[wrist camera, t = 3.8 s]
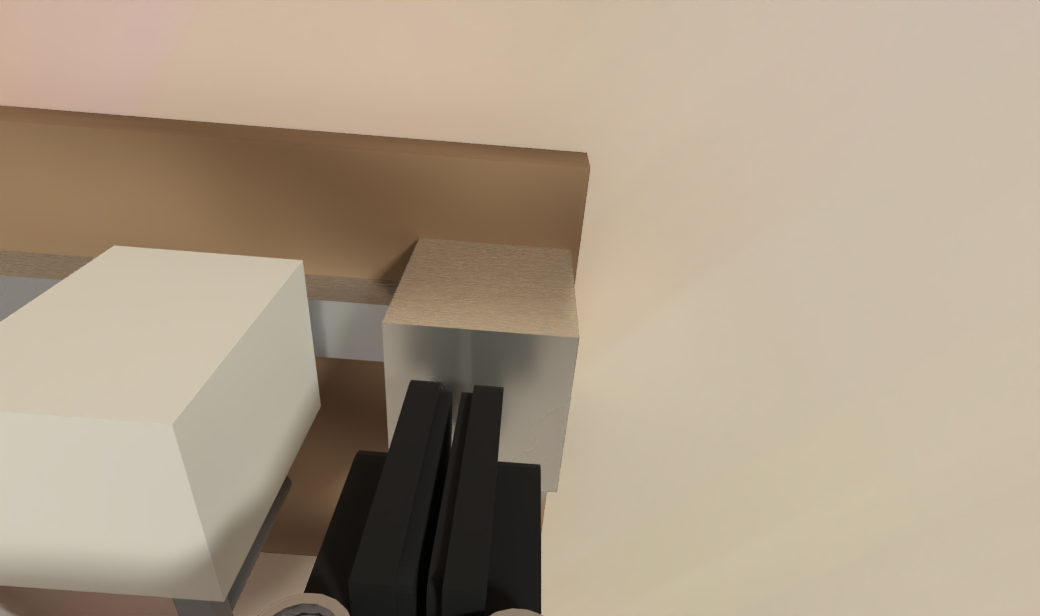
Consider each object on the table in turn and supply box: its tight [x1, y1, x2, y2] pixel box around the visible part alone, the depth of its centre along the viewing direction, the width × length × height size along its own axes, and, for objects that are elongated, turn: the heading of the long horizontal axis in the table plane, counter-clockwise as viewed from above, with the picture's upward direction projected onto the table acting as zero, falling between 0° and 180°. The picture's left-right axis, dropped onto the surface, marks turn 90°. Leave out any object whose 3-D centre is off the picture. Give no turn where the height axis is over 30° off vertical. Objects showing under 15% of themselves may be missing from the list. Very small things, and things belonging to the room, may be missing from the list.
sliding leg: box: [0, 245, 321, 616], centre depth 13 cm, size 8×4×6 cm, turn 176°
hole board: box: [0, 106, 590, 556], centre depth 17 cm, size 14×20×1 cm
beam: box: [0, 238, 579, 492], centre depth 15 cm, size 8×19×4 cm, turn 86°
